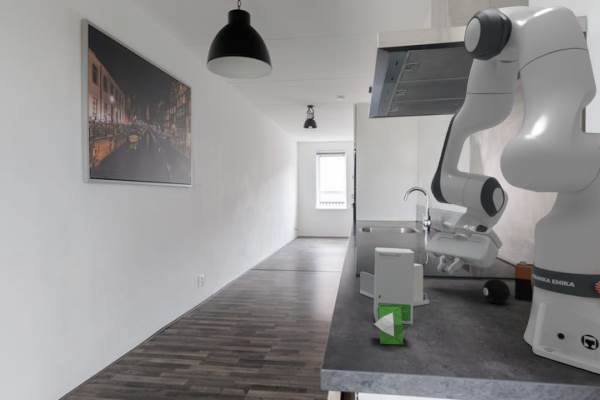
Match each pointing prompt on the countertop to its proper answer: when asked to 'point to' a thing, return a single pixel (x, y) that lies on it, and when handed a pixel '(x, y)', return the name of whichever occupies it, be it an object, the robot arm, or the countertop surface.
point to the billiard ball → (496, 291)
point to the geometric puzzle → (390, 325)
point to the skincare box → (394, 281)
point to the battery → (523, 281)
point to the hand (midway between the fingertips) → (444, 271)
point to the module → (418, 283)
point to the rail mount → (368, 288)
